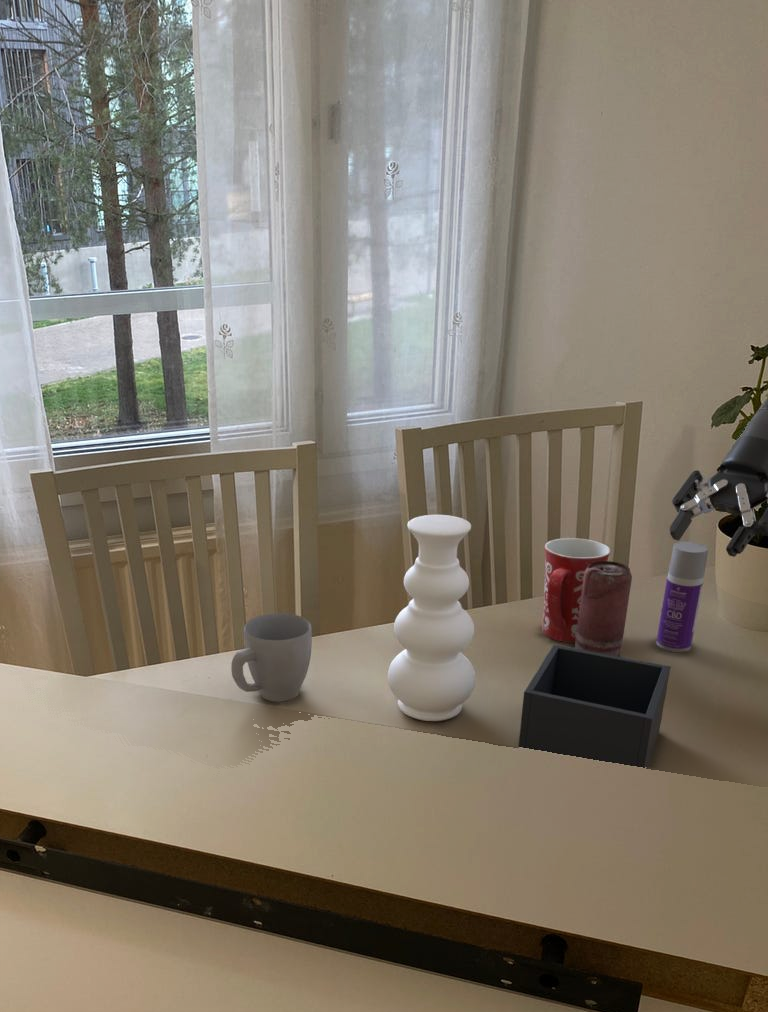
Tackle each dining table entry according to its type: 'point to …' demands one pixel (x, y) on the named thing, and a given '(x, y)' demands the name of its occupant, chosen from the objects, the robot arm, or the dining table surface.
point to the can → (603, 607)
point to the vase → (434, 625)
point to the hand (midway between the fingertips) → (701, 545)
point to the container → (682, 596)
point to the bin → (594, 706)
